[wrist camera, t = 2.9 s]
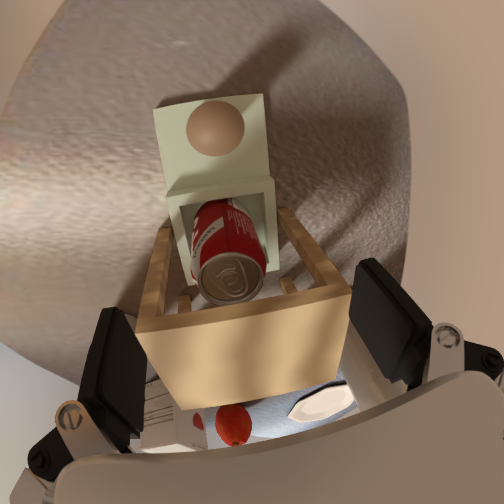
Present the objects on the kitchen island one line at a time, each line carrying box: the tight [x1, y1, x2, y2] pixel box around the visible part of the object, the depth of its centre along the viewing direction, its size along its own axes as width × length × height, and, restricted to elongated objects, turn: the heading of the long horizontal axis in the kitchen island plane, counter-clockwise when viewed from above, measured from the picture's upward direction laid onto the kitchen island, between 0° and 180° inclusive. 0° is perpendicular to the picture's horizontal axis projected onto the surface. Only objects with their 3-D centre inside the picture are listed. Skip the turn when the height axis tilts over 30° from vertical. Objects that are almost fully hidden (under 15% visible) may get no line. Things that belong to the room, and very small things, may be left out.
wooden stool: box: [135, 208, 352, 410], centre depth 28 cm, size 16×12×17 cm
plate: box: [288, 384, 355, 423], centre depth 63 cm, size 20×20×2 cm
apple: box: [215, 403, 252, 447], centre depth 51 cm, size 8×8×11 cm
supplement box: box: [140, 379, 208, 453], centre depth 42 cm, size 9×9×15 cm
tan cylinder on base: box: [153, 93, 279, 286], centre depth 26 cm, size 11×21×11 cm, turn 5°
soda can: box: [190, 198, 267, 306], centre depth 28 cm, size 7×7×12 cm
